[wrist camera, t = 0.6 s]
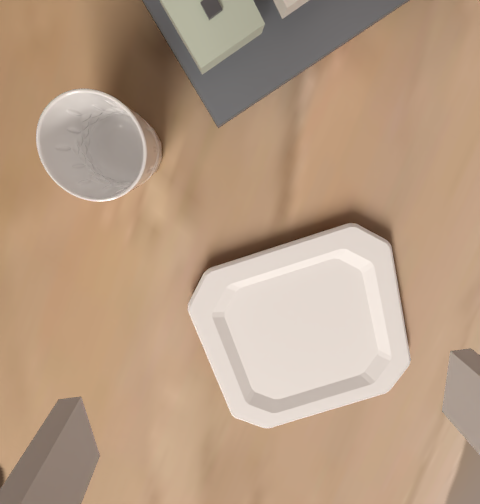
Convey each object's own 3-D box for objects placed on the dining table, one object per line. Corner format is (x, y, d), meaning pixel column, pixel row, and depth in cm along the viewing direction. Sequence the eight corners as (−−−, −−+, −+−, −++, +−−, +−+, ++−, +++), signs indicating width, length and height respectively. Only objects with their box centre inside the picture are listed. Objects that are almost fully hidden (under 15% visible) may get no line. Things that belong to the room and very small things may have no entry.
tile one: (160, 3, 25) (154, -12, 23) (223, -44, 24) (223, -63, 22) (202, 74, 27) (200, 67, 24) (261, 33, 26) (265, 22, 24)
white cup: (131, 91, 31) (90, 62, 21) (183, 156, 33) (168, 157, 23) (74, 143, 32) (11, 137, 22) (129, 203, 34) (93, 221, 24)
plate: (377, 208, 36) (386, 211, 34) (406, 374, 44) (416, 386, 41) (176, 273, 37) (174, 280, 35) (239, 425, 44) (240, 438, 42)
